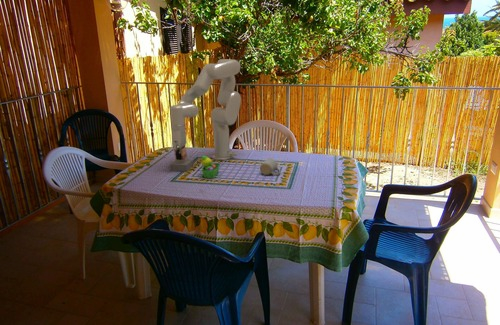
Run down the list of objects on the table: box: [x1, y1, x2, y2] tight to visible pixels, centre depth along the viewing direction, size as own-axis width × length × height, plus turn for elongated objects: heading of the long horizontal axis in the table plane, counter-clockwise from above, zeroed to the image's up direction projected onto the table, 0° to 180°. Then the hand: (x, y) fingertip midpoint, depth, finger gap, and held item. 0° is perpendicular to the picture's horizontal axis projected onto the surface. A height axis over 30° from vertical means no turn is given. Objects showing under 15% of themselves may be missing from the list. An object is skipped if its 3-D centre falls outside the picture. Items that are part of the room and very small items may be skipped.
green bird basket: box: [200, 155, 221, 179], centre depth 206 cm, size 11×9×11 cm
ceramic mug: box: [259, 157, 281, 176], centre depth 206 cm, size 11×8×8 cm
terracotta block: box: [173, 147, 188, 161], centre depth 216 cm, size 5×5×6 cm
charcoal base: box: [169, 158, 194, 173], centre depth 219 cm, size 10×10×4 cm
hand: (181, 157), depth 217 cm, fingers closed on terracotta block, 5 cm apart
